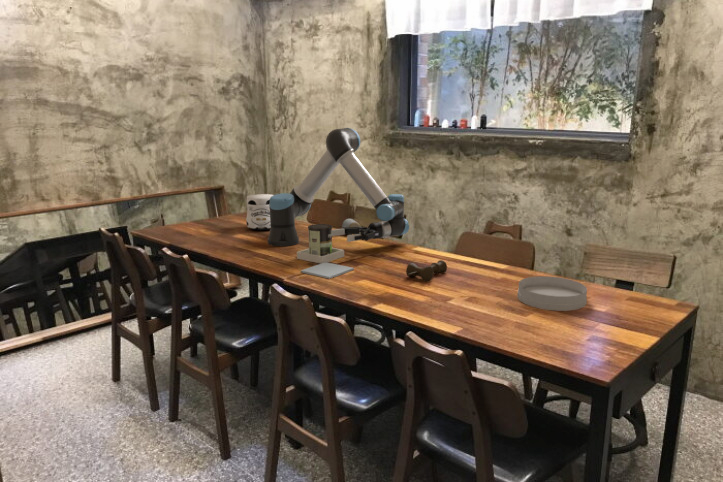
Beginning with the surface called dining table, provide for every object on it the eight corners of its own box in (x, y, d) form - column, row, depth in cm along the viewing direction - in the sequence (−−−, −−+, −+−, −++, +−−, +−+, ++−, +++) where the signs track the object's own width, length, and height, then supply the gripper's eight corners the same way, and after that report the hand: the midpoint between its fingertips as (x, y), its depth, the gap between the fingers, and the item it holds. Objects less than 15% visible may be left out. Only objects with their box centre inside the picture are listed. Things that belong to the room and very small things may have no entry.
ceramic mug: (348, 236, 279) (348, 221, 277) (341, 233, 286) (341, 218, 284) (367, 234, 283) (367, 220, 281) (360, 231, 290) (360, 217, 289)
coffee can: (333, 254, 244) (332, 223, 240) (331, 260, 234) (330, 228, 230) (310, 254, 244) (309, 223, 241) (307, 260, 234) (306, 228, 231)
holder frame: (297, 258, 237) (296, 251, 237) (319, 251, 249) (319, 245, 248) (322, 263, 229) (322, 257, 228) (344, 256, 240) (344, 249, 239)
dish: (532, 285, 199) (533, 272, 198) (595, 298, 186) (596, 284, 185) (506, 301, 183) (506, 287, 182) (573, 316, 169) (574, 301, 168)
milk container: (257, 233, 287) (255, 199, 283) (240, 228, 299) (238, 196, 295) (285, 228, 298) (283, 196, 294) (267, 224, 311) (266, 192, 306)
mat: (300, 272, 217) (300, 270, 217) (325, 263, 229) (325, 262, 229) (329, 278, 208) (329, 276, 208) (353, 269, 220) (353, 267, 220)
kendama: (452, 275, 213) (417, 285, 200) (433, 271, 220) (398, 280, 207) (452, 260, 212) (417, 269, 199) (433, 256, 219) (398, 264, 206)
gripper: (394, 243, 244) (354, 249, 233) (364, 233, 264) (326, 238, 253) (394, 226, 242) (354, 232, 231) (364, 217, 262) (325, 223, 251)
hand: (339, 235), depth 242 cm, fingers open, 13 cm apart
